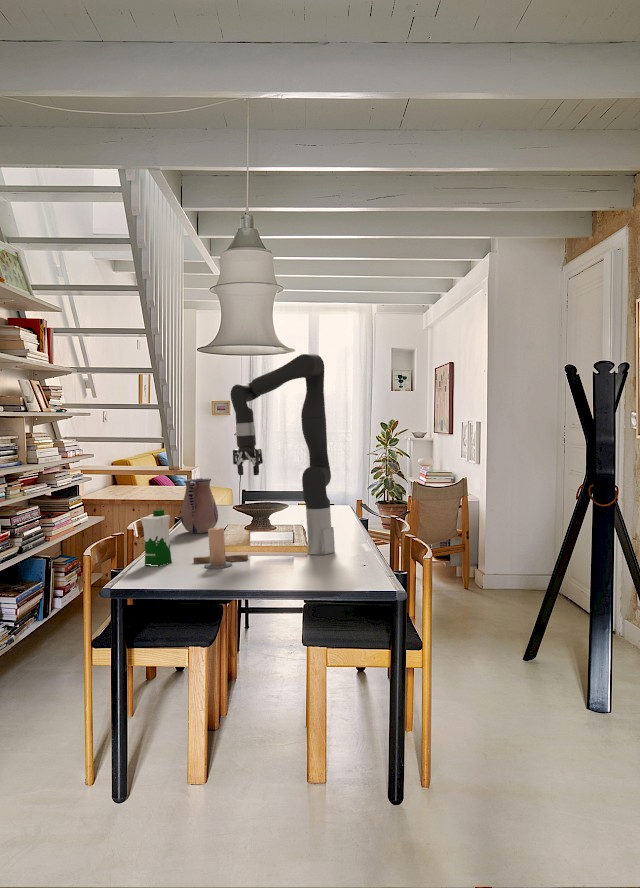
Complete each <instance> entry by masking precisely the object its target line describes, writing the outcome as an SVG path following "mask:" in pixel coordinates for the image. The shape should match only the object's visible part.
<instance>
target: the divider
mask: <svg viewBox="0 0 640 888" xmlns="http://www.w3.org/2000/svg"><path fill="white" fill-rule="evenodd" d="M192 559H193V564H204V563H207V564H209V563H210V555H207V556H193V558H192ZM248 560H249V555H248V553H243V554H241V553H240V554H226V562H238V561H239V562H240V561H241V562H242V561H248Z"/></svg>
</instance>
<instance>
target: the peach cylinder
mask: <svg viewBox="0 0 640 888" xmlns="http://www.w3.org/2000/svg"><path fill="white" fill-rule="evenodd" d="M207 533H208V547H209V549H208V550H209V556H210V562H209V563H210V566H223V565H226V562H227V561H226V555H227V554H226V542H225V541H226V540H225V528H224V527H214V528H210V529H208V532H207Z"/></svg>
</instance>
